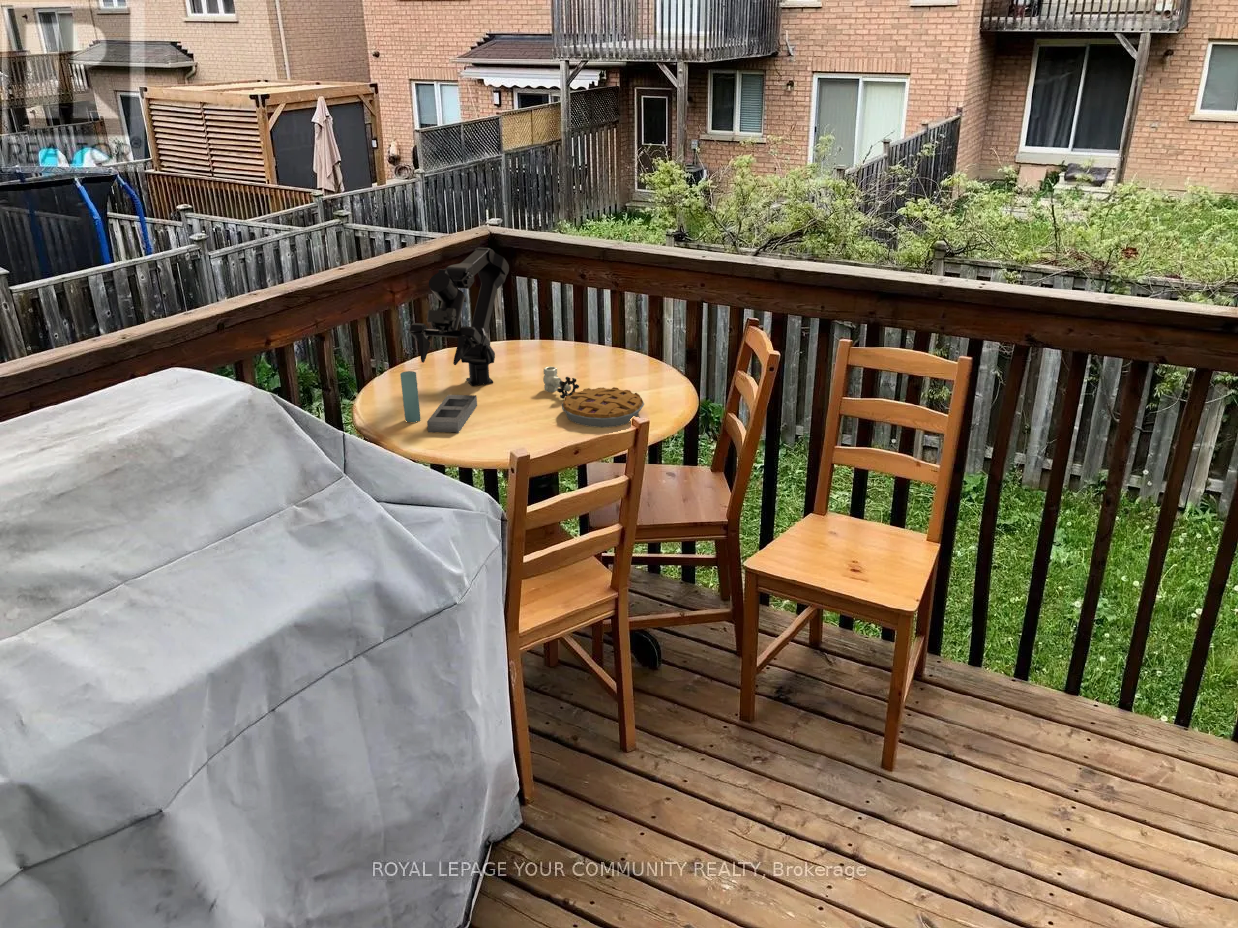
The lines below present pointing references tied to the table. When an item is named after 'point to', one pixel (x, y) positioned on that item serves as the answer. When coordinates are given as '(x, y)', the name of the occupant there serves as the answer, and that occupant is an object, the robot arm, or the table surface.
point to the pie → (602, 407)
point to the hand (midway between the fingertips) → (438, 363)
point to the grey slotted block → (452, 413)
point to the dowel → (410, 396)
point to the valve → (557, 382)
